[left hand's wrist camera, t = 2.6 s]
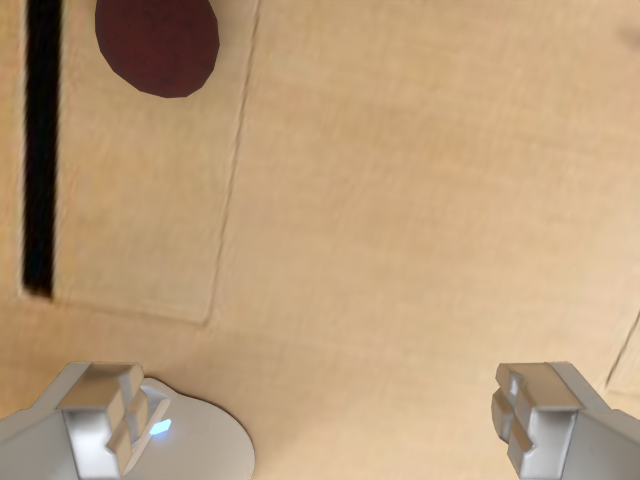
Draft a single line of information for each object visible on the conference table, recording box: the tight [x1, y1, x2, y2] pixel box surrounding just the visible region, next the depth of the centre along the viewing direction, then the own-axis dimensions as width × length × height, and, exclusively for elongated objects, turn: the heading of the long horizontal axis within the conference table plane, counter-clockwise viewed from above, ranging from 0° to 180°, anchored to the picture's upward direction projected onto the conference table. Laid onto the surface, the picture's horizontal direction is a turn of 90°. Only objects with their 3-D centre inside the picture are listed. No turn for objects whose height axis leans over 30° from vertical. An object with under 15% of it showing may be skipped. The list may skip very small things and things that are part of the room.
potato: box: [95, 0, 219, 98], centre depth 28 cm, size 7×8×7 cm
